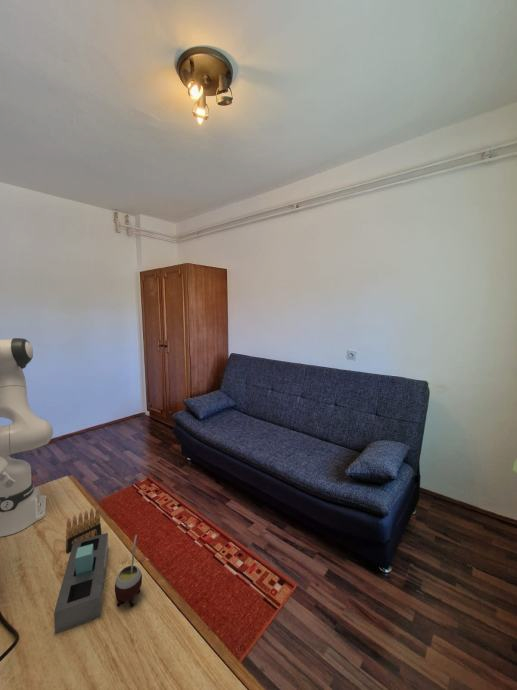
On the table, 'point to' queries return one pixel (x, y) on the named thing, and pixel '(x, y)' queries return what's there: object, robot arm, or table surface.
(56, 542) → the table surface
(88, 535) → the ammunition clip
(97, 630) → the table surface
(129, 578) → the mate gourd
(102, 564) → the block with square holes
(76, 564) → the square peg
